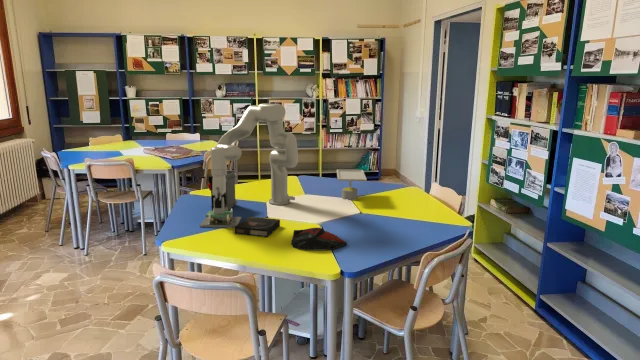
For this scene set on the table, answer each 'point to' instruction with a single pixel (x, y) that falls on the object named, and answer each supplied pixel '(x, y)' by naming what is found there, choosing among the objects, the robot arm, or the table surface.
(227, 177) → the electrical component
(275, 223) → the portable cd player
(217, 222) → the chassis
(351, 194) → the solar panel model
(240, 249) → the table surface
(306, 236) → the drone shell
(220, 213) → the board
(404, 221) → the table surface
